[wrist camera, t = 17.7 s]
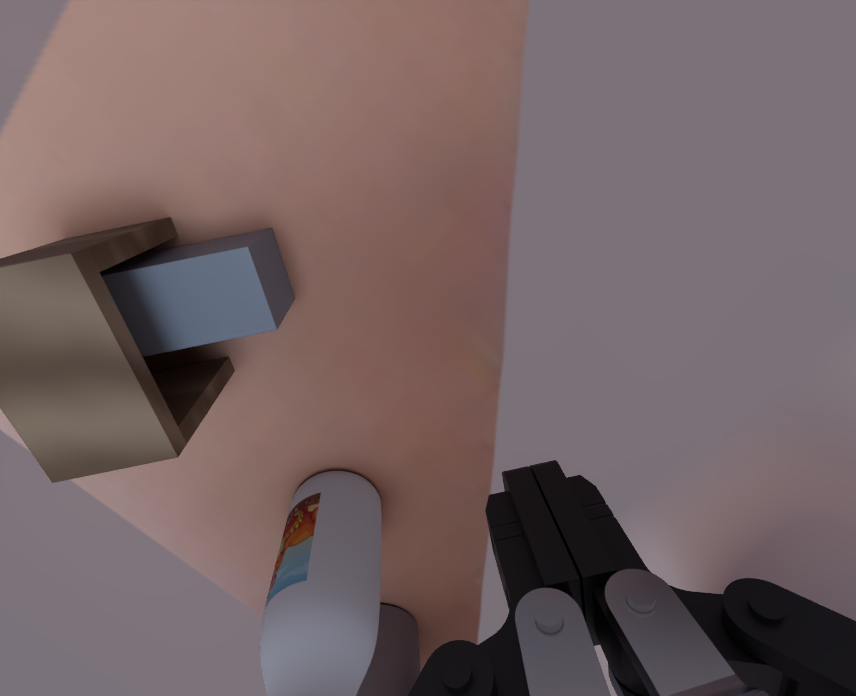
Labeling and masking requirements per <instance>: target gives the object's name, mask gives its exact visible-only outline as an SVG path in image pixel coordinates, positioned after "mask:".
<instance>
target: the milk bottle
mask: <svg viewBox="0 0 856 696" xmlns="http://www.w3.org/2000/svg"><path fill="white" fill-rule="evenodd" d="M381 520H382V514H381V500H380V497H379V494H378V493H377V491H376V489H375V488H374V487H373V486H372V484H371V483H370V482H368V481H367V480H366V479H365V478H363V477H361V476H359V475H357V474H354V473H351V472H345V471H329V472H323V473H320V474H317V475H315V476H313V477H311V478H309V479H308V480H307V481H306V482H304V483H303V484H302V485H301V486H300V487H299V488H298V490H297V491H296V493H295V495H294V497H293V500H292V504H291V507H290V511H289V515H288V518H287V522H286V526H285V530H284V534H283V538H282V541H281V545H280V549H279V553H278V557H277V561H276V565H275V569H274V573H273V577H272V581H271V585H270V589H269V593H268V597H267V601H266V606H265V611H264V615H263V620H262V627H261V635H260V658H261V666H262V672H263V677H264V681H265V686H266V692H267V696H356V694H357V692H358V690H359V688H360V685H361V683H362V681H363V679H364V677H365V675H366V672H367V670H368V668H369V665H370V663H371V660H372V657H373V653H374V650H375V645H376V641H377V634H378V627H379V611H380V583H381Z"/></svg>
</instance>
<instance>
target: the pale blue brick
mask: <svg viewBox="0 0 856 696" xmlns="http://www.w3.org/2000/svg"><path fill="white" fill-rule="evenodd" d="M100 274H101V276H102V278H103V280H104V282H105V284H106V286H107V288H108V290H109V292H110V294H111V296H112V298H113V300H114V302H115V304H116V306H117V308H118V310H119V312H120V314H121V316H122V318H123V320H124V322H125V324H126V325H127V327H128V329H129V331H130V333H131V335H132V337H133V339H134V341H135V343H136V345H137V347H138V349H139V351H140V353H141V355H142V357H144V356H149V355H154V354H159V353H164V352H169V351H174V350H179V349H184V348H189V347H194V346H199V345H204V344H209V343H214V342H219V341H224V340H229V339H234V338H239V337H244V336H249V335H254V334H259V333H264V332H269V331H274V330H277V329H278V327H279V326H280V324H281V322H282V320H283V319H284V317H285V315H286V313H287V312H288V310H289V308H290V306H291V305H292V303H293V301H294V299H295V297H294V294H293V291H292V288H291V285H290V282H289V279H288V276H287V272H286V269H285V266H284V263H283V260H282V257H281V254H280V251H279V248H278V245H277V242H276V238H275V235H274V232H273V229H272V228H270V229H265V230H260V231H255V232H250V233H245V234H240V235H235V236H230V237H225V238H220V239H215V240H210V241H205V242H200V243H195V244H190V245H185V246H180V247H175V248H170V249H165V250H160V251H155V252H150V253H145V254H140V255H136V256H134V257H131V258H129V259H127V260H125V261H123V262H121V263H118V264H116V265H114V266H112V267H110V268H108V269H105V270H103V271H101V272H100Z"/></svg>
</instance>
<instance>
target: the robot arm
mask: <svg viewBox="0 0 856 696" xmlns="http://www.w3.org/2000/svg"><path fill="white" fill-rule="evenodd" d="M502 477H503V483H504V489H505V492H501V493H496V494H491V495H489V497H488V502H487V506H486V516H487V521H488V527H489V532H490V537H491V542H492V547H493V552H494V556H495V559H496V563H497V567H498V570H499V574H500V578H501V581H502V585H503V589H504V592H505V596H506V600H507V603H508V607H509V615H508V617H507V620H506V622H505V623H504V625H503V626H502V628H501V629H500V630H499V631H498V632H497V633H496V634H494V635H493V636H491V637H490V638H488V639H487V640H485V641H484V642H482V643H480V644H479V645H476V644H474V643H471V642H469V641H464V640H455V641H450V642H448V643H445V644H443V645H441V646H440V647H439V648H437V649H436V650H435V651H434V652H433V653H432V654H431V656H430V657H429V659H428V660H427V662H426V664H425V666H424V668H423V669H422V671H421V672H420V654H419V638H418V627H417V624H416V622H415V620H414V619H413V617H412V616H410V615H409V614H408V613H407V612H405V611H403V610H402V609H399V608H396V607H393V606H389V605H383V604H380V611H379V627H378V634H377V641H376V645H375V650H374V653H373V657H372V660H371V663H370V665H369V668H368V670H367V672H366V675H365V677H364V679H363V681H362V683H361V685H360V688H359V690H358V692H357V694H356V696H611V695H610V692H609V690H608V686H607V684H606V681H605V678H604V675H603V672H602V669H601V666H600V663H599V661H598V657H597V654H596V651H595V649H594V646H595V645H601V647H602V650H603V652H604V654H605V656H606V659H607V661H608V670H609V677H610V681H611V683H612V686H613V687H614V690H615V691H616V694H617V696H856V621H854V620H852V619H850V618H848V617H845V616H843V615H841V614H839V613H837V612H835V611H832V610H830V609H828V608H826V607H824V606H821V605H819V604H817V603H815V602H813V601H811V600H808V599H806V598H804V597H802V596H800V595H797V594H795V593H793V592H791V591H789V590H787V589H784V588H782V587H780V586H778V585H775V584H773V583H770V582H768V581H764V580H760V579H753V578H744V579H739V580H735V581H734V582H732V583H730V584H729V585H728V586H727V587H726V589H725V591H724V594H712V593H701V592H691V591H685V590H681V589H678V588H675V587H672V586H670V585H668V584H667V583H666V582H665V581H664V580H662V579H661V578H659V577H658V576H657V575H655V574H653V573H651V572H650V571H649V570H648V568H647V567H646V566H645V564H644V563H643V561H642V559H641V558H640V557H639V555H638V553H637V551H636V550H635V548H634V547H633V545H632V543H631V542H630V540H629V539H628V537H627V535H626V534H625V532H624V531H623V529H622V527H621V526H620V524H619V523H618V521H617V519H616V518H614V516H613V513H612V511H611V510H610V509H609V507H608V505H606V503H605V500H604V499H603V497H602V495H601V494H600V492H599V491H598V489H597V487H596V486H595V485H593V484H592V483H591V482H589V481H588V480H586V479H585V478H584V477H582V476H581V475H577V476H573V477H568V478H566V477H565V475H564V473H563V471H562V469H561V467H560V466H559V464H558V462H557V461H556V460H554V461H549V462H545V463H540V464H535V465H531V466H529V467H528V466H527V467H522V468H518V469H513V470H509V471H504V472H502Z"/></svg>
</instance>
